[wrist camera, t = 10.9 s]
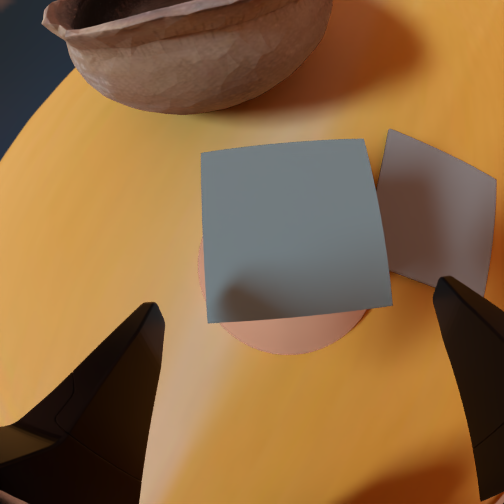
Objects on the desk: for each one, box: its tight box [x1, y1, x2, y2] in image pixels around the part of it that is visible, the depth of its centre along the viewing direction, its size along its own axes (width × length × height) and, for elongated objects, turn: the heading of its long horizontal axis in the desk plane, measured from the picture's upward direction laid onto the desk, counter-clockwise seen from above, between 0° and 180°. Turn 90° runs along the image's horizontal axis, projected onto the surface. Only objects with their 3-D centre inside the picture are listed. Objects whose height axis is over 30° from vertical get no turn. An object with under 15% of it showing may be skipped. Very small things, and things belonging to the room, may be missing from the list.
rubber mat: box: [376, 129, 496, 297], centre depth 21 cm, size 12×12×1 cm
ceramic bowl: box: [42, 0, 332, 115], centre depth 19 cm, size 22×22×15 cm
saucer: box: [198, 237, 367, 355], centre depth 20 cm, size 13×13×4 cm
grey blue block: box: [201, 139, 393, 323], centre depth 16 cm, size 7×7×10 cm
